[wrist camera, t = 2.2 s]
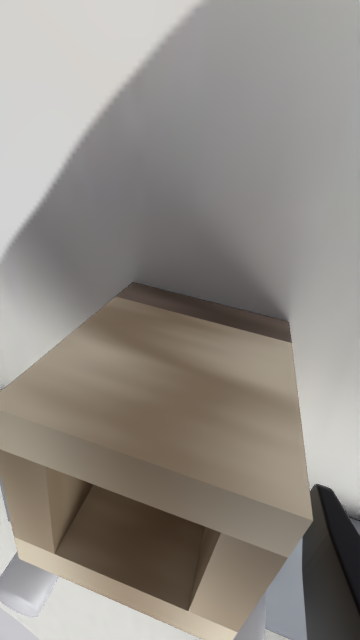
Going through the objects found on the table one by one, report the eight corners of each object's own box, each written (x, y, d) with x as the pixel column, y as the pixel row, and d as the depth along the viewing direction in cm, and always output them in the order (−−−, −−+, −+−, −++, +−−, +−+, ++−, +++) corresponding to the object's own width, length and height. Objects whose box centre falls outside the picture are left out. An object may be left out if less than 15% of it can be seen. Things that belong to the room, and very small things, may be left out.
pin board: (23, 500, 22) (-53, 602, 17) (6, 399, 17) (-108, 499, 12) (303, 612, 19) (315, 782, 14) (378, 527, 14) (442, 740, 9)
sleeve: (123, 396, 15) (19, 558, 8) (132, 282, 12) (-16, 404, 6) (245, 435, 14) (226, 650, 8) (288, 321, 11) (313, 520, 5)
